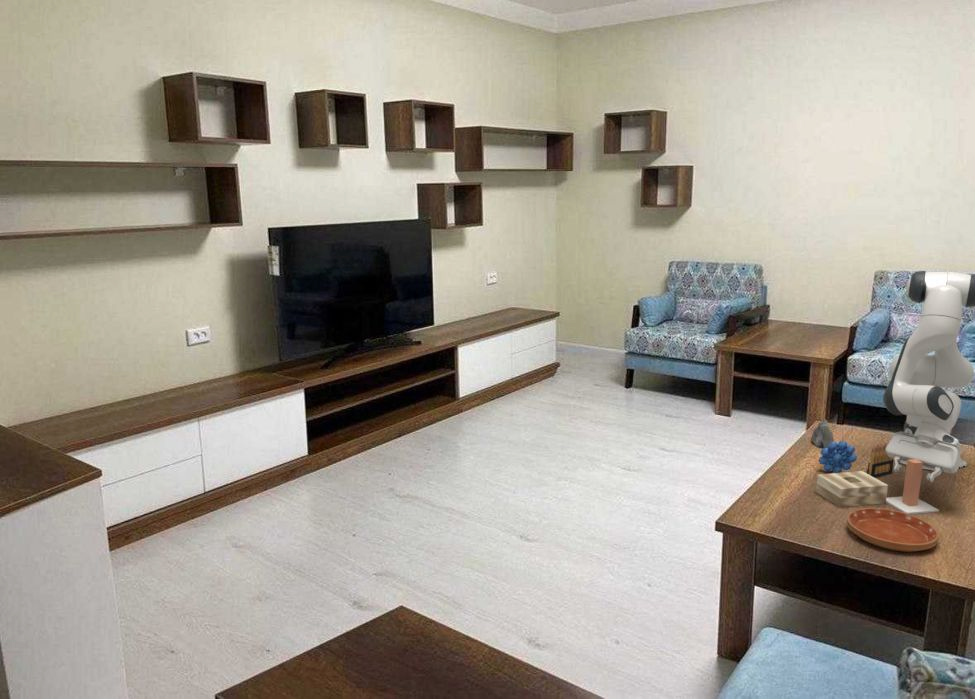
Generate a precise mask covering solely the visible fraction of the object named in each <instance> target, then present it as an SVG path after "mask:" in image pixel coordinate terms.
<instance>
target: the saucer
mask: <svg viewBox="0 0 975 699" xmlns="http://www.w3.org/2000/svg"><path fill="white" fill-rule="evenodd" d="M846 518H847V519H846V525H847V527H848V529H849V530H850V531H851V532H852V533H853V534H854V535H856V536H858V537H859V538H860V539H862V540H863V541H865V542H867V543H869V544H872V545H874V546H877V547H880V548H883V549H886V550H887V549H888V550H892V551H899V552H908V553H909V552H910V553H911V552H920V551H925V550H929V549H932V548H933V547H935V546H936V545H937V544H938V540H939V538H940V537H939V532H938V529H936V527H934V526H933V525H932V524H931V523H929V522H928V521H926V520H924V519H922V518H920V517H918V516H915V515H914V514H906V513H903V512H901V511H900V510H894V509H887V508H880V507H879V508H878V507H866V508H859V509H854V510H852V511H850V512H849V513H848V514H847V517H846Z"/></svg>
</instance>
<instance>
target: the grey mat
mask: <svg viewBox="0 0 975 699" xmlns="http://www.w3.org/2000/svg"><path fill="white" fill-rule="evenodd" d="M902 499H903V495H902V496H892V497H889V496H888V497H886V503H885V504H887V505H889V506H891V507H893V508H895V509H896V510H897V511H899V512H903V513H906V514H910V515H917V514H918V515H919V514H930V513H939V511H940V510H939V509H938V508H936V507H934V506H933V505H931V504H930V503H927V502H925V501H924V500H921V499H920V498H919V499H918V506H908V505H906V504H904V503H902Z"/></svg>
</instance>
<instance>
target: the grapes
mask: <svg viewBox="0 0 975 699" xmlns="http://www.w3.org/2000/svg"><path fill="white" fill-rule="evenodd" d="M855 451H856V448H855V446H854V445H850V444H849V445H848V442H847V441H845V440H841V441H838V443H837V442H836V441H834V442H830V443H829V444H828V448H821V449H820V455H821V456H820V457H819V458H818V463H819V464H820V465H823V470H824V471H825V472H831V471H832V473H842V471H843V470H844V471H849V470H851V468H852V467H853V466H852V463H855V462H856V461H857V459H858V458H857V457H858V456H857V455H856V454H855Z"/></svg>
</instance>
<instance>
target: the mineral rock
mask: <svg viewBox="0 0 975 699" xmlns="http://www.w3.org/2000/svg"><path fill="white" fill-rule="evenodd" d="M811 441H812V442H813V443H814V445H815V446H816V447H818V448H821V449H823V448H828V444H829V443H830V442H835V438H834V434H833V432H832V431H831V428H830V426H829V423H828V420H827V419H823V420H820V421H819V423H818V425H817V426H816V427H815V428H814V429H813V430H812V435H811Z"/></svg>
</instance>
